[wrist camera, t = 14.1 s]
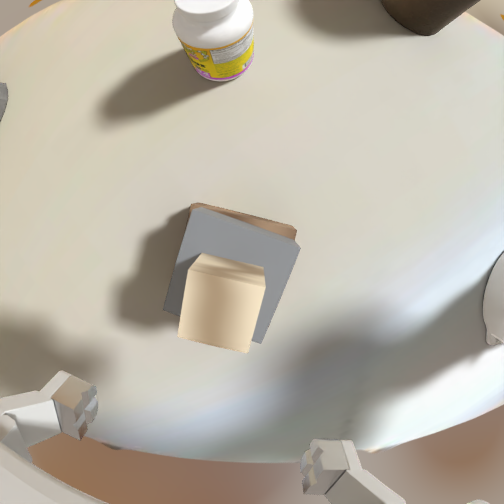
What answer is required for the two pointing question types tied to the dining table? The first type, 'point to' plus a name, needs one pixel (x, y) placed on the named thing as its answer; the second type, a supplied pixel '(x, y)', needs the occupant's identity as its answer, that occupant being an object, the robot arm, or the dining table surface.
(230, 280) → the birch block
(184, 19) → the supplement bottle
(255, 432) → the dining table surface
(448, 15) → the pillar candle
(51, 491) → the robot arm
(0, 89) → the coffeepot
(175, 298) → the tower top
